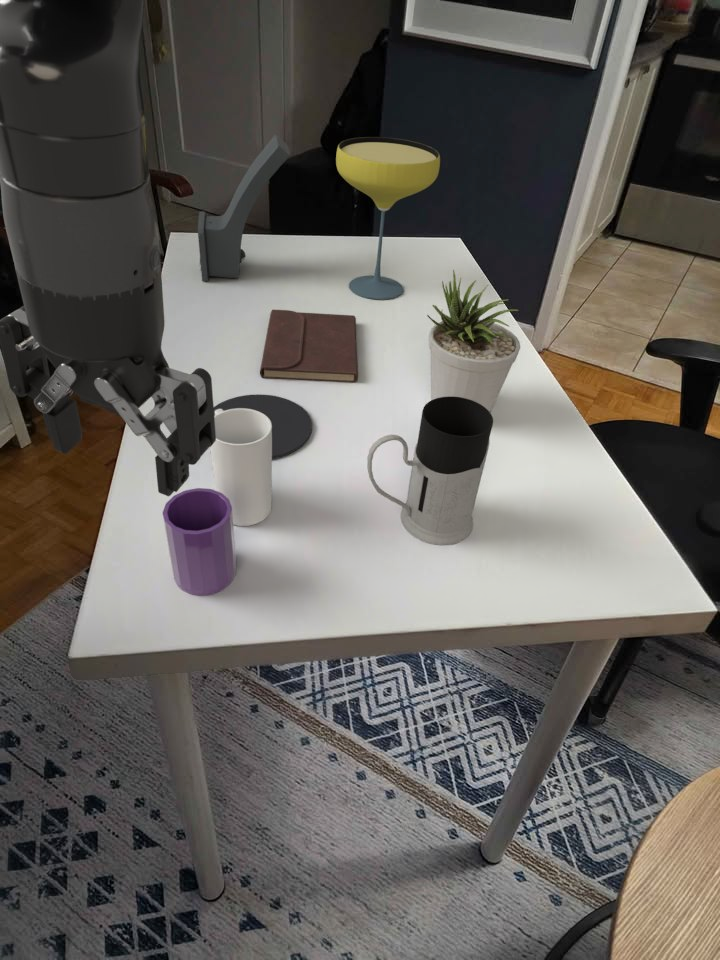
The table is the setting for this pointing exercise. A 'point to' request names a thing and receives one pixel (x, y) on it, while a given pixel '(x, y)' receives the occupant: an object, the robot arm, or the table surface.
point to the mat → (277, 420)
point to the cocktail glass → (385, 189)
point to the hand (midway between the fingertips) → (120, 466)
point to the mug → (243, 463)
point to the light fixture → (236, 216)
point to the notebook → (310, 347)
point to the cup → (200, 540)
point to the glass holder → (443, 469)
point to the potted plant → (470, 350)
